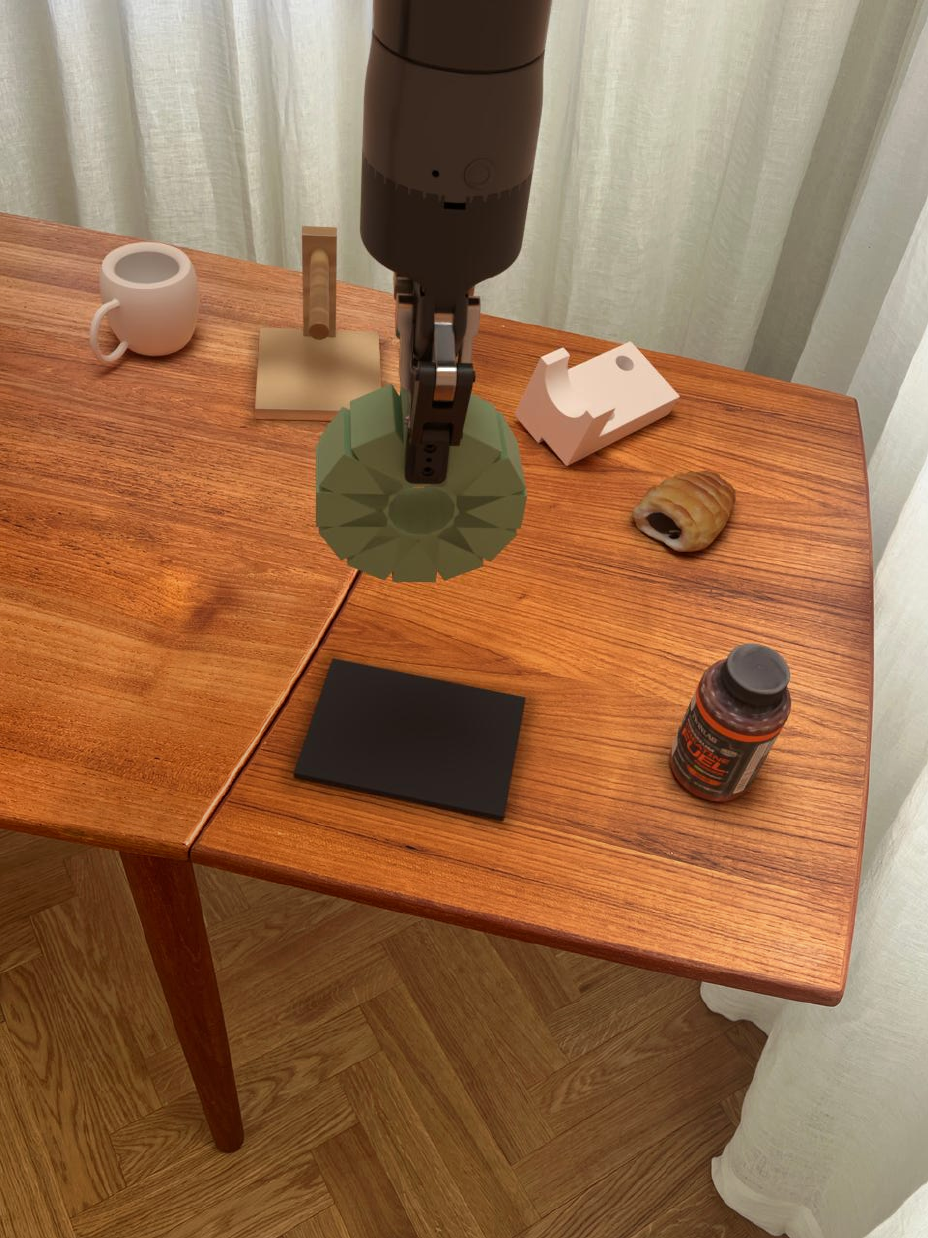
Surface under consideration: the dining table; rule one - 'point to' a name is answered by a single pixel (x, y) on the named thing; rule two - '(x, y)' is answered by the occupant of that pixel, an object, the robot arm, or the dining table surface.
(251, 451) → the dining table surface
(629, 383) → the bracket
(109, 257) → the mug
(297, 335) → the peg stand with base
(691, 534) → the pastry
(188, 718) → the dining table surface
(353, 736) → the mat
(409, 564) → the green grooved wheel
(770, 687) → the supplement bottle
